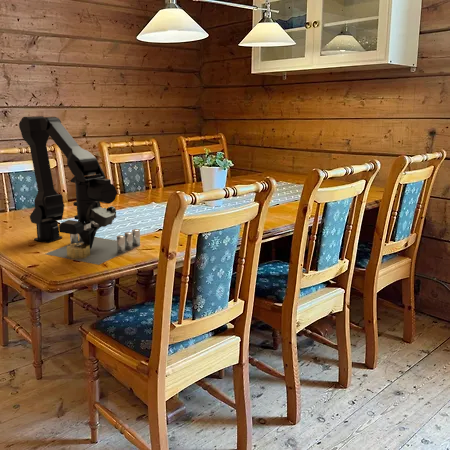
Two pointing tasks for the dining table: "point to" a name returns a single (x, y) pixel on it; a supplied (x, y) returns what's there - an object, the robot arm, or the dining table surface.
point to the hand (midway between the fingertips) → (89, 248)
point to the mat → (93, 251)
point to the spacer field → (118, 240)
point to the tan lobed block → (78, 250)
